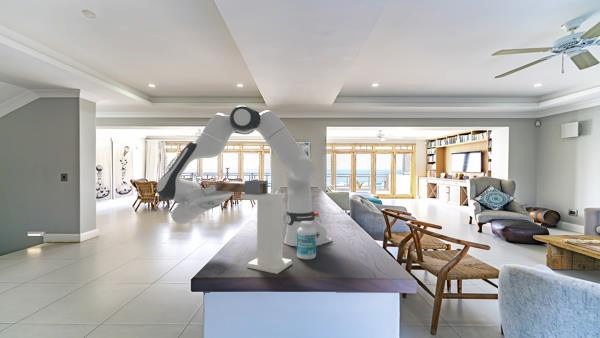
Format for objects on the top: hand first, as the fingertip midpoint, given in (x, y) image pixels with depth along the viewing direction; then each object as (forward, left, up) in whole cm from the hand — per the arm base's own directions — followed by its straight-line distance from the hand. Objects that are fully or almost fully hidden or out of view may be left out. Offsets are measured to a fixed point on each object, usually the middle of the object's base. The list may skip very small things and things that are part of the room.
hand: (224, 185), depth 105 cm
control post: (-10, +17, -27) cm, 34 cm away
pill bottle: (-27, +17, -27) cm, 42 cm away
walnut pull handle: (-4, +6, -2) cm, 8 cm away
